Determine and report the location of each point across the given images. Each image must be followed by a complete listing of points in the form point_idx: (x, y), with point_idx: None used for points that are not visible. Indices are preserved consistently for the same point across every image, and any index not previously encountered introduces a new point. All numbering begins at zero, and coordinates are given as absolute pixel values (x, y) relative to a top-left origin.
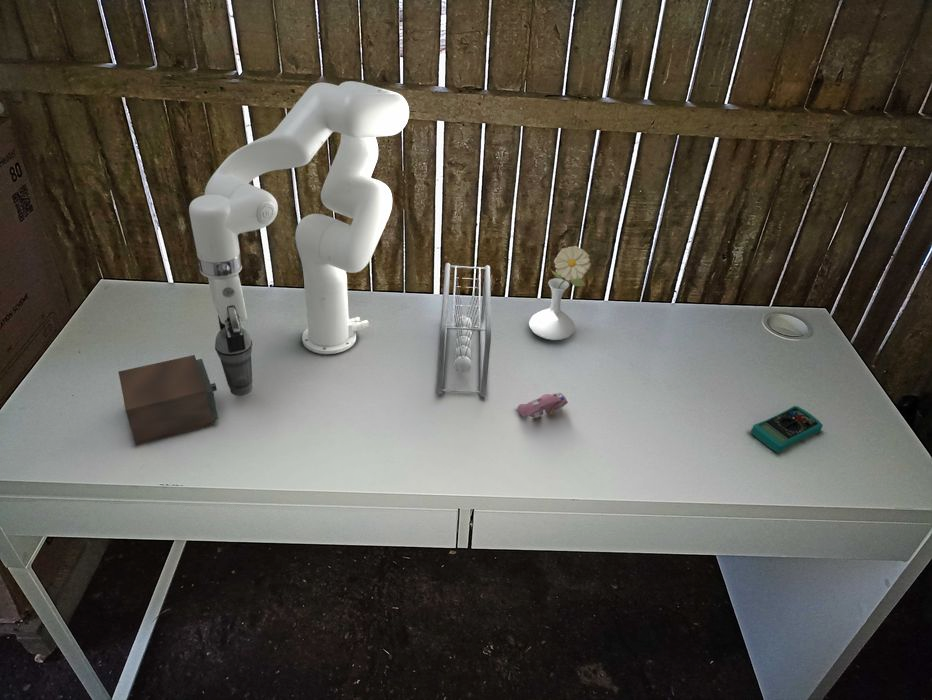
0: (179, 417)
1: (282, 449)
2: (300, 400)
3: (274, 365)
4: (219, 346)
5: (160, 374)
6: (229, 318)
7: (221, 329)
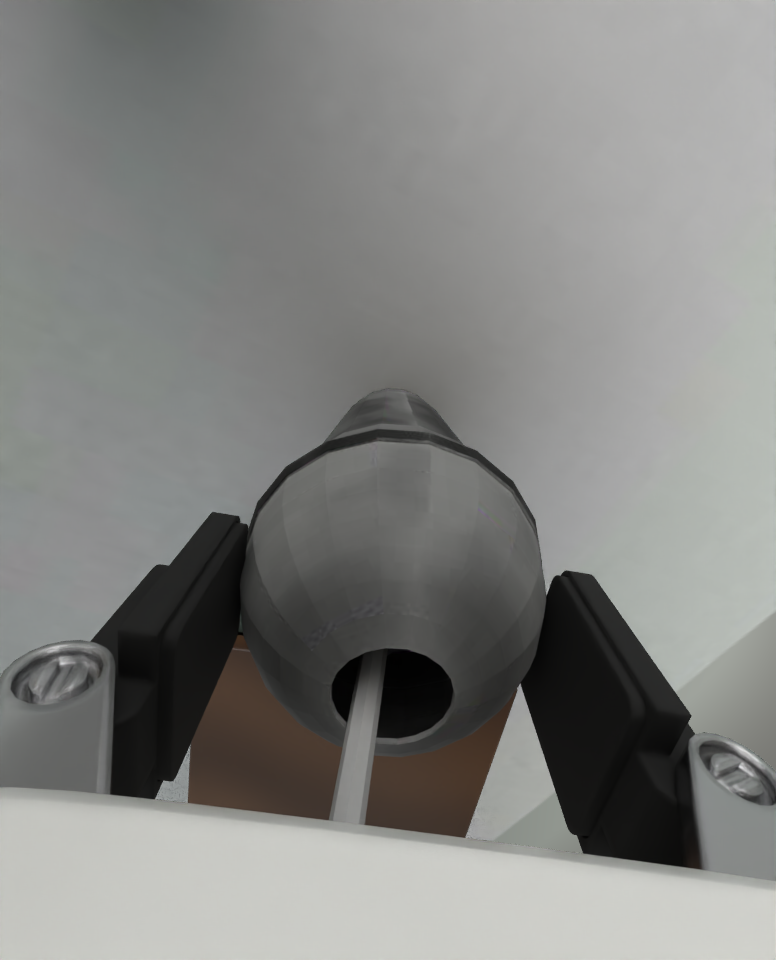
0: None
1: (766, 422)
2: (563, 207)
3: (237, 191)
4: (435, 719)
5: (284, 790)
6: (192, 662)
7: (227, 657)
